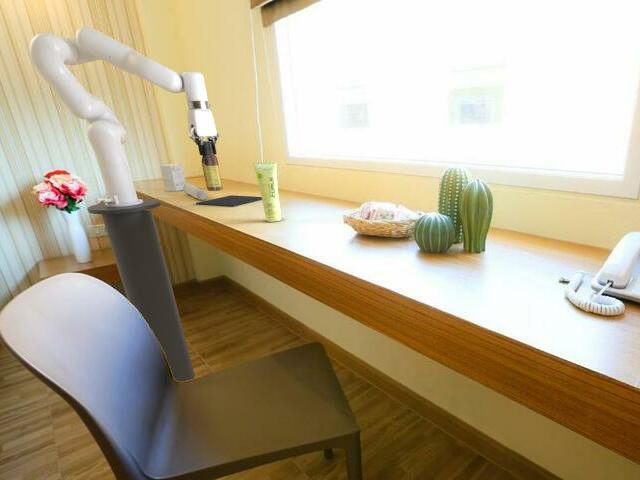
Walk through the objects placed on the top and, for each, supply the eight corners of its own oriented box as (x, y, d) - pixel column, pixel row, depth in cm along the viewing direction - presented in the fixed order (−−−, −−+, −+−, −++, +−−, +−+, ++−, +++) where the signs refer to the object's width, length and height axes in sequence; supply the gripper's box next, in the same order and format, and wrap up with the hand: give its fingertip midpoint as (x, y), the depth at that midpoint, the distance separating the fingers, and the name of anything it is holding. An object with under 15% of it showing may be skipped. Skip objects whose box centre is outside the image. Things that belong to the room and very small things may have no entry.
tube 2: (268, 223, 131) (259, 162, 124) (261, 221, 134) (252, 161, 127) (284, 220, 135) (276, 161, 127) (277, 218, 138) (268, 160, 131)
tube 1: (209, 190, 175) (195, 184, 193) (196, 188, 171) (183, 182, 189) (207, 202, 176) (194, 195, 194) (194, 200, 172) (182, 193, 190)
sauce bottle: (210, 189, 170) (201, 141, 163) (225, 189, 171) (217, 140, 164) (204, 191, 164) (194, 141, 157) (219, 191, 164) (210, 141, 158)
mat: (232, 206, 160) (232, 205, 159) (195, 204, 166) (195, 202, 166) (265, 198, 177) (265, 197, 177) (231, 196, 184) (230, 195, 183)
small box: (177, 189, 210) (171, 163, 205) (187, 189, 208) (181, 163, 204) (165, 191, 202) (159, 165, 197) (176, 191, 201) (170, 165, 196)
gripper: (208, 107, 164) (217, 153, 171) (173, 106, 149) (184, 156, 156) (222, 107, 162) (230, 153, 168) (188, 105, 147) (198, 156, 154)
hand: (208, 154), depth 162 cm, fingers closed on sauce bottle, 4 cm apart
